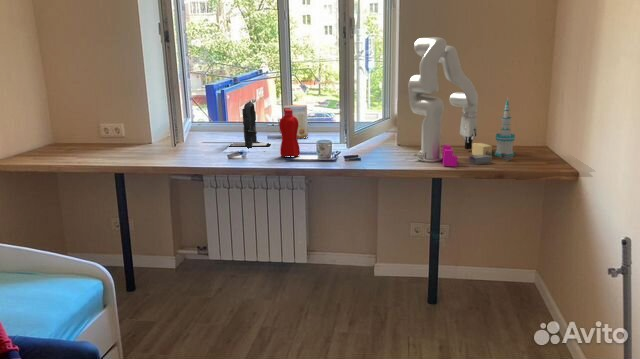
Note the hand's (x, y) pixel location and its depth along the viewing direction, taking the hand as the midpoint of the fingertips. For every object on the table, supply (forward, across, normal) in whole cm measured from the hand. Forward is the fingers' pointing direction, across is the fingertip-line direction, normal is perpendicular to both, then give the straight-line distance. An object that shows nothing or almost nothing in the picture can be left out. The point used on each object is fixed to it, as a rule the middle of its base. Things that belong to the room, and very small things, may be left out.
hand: (468, 148), depth 290 cm
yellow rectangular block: (+2, +13, 0) cm, 13 cm away
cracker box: (+2, -78, -75) cm, 108 cm away
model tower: (+2, +15, +12) cm, 19 cm away
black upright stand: (+2, -63, -108) cm, 125 cm away
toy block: (+1, +21, -24) cm, 32 cm away
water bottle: (+2, -27, -93) cm, 97 cm away
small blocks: (+1, +26, -4) cm, 26 cm away
